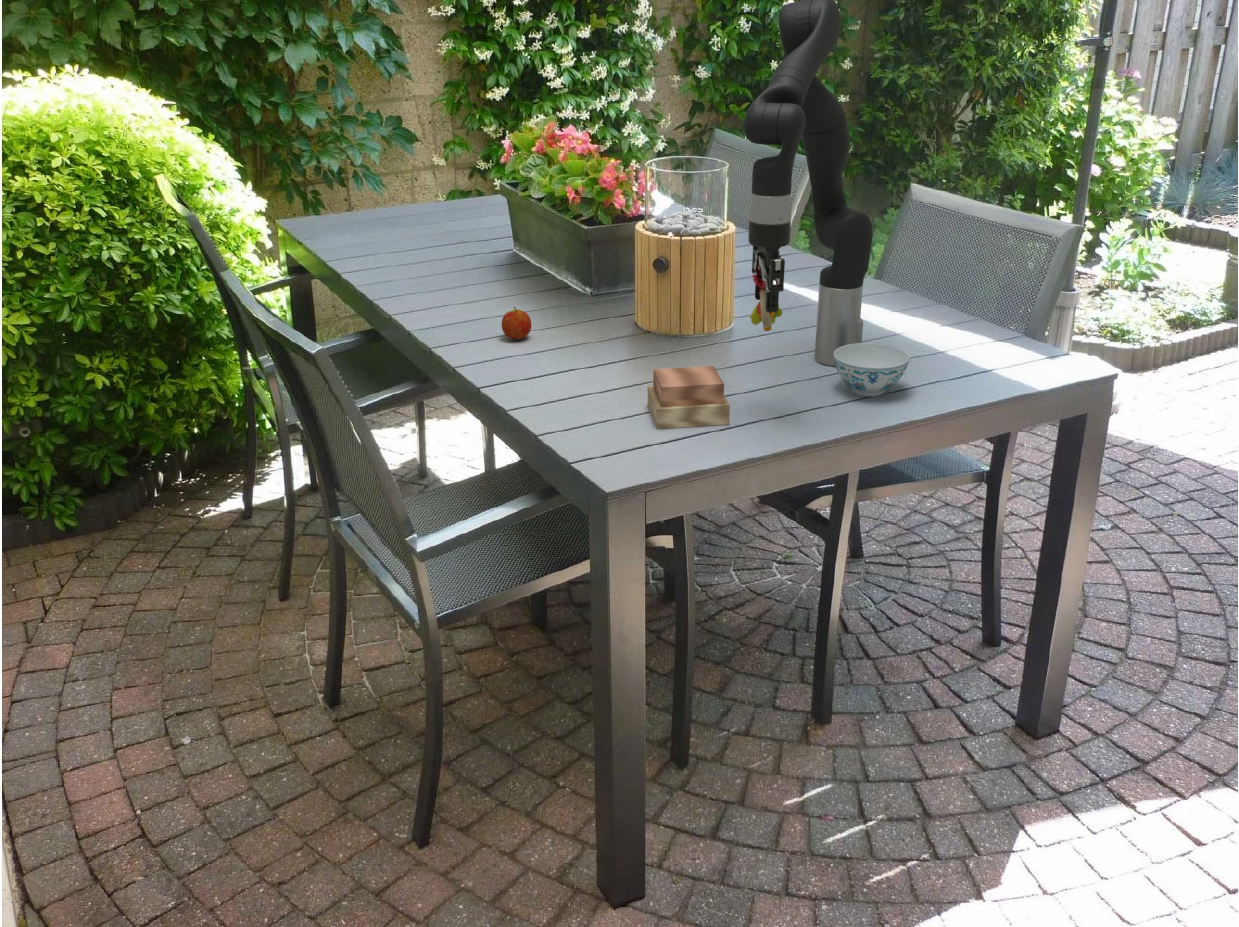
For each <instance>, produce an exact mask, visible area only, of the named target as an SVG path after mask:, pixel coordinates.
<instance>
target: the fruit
mask: <svg viewBox="0 0 1239 927" xmlns="http://www.w3.org/2000/svg"><path fill="white" fill-rule="evenodd" d="M513 309H514V310H509V311H507V312H506V313H505V314H504V315H503V316H502V319H501V329H502V332H503V334H504V335H505V336H506V337H507V338H509V339H510V338H511V339H510V340H512V339H521V340H523V339H524V338H526V337H527V336H528V335H529V334H530V332H531V331H532V319H531V316H530V315H529V314H528V313H527V312H526V311H524V310H521V309H518V308H516V307H515V306H514V307H513ZM522 338H523V339H522Z"/></svg>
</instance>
